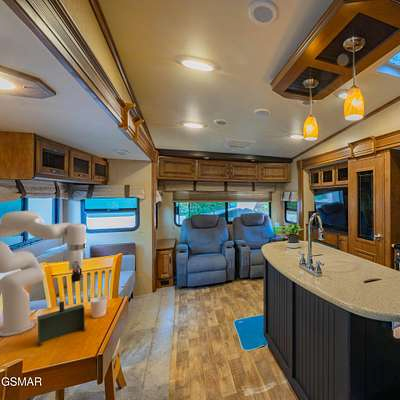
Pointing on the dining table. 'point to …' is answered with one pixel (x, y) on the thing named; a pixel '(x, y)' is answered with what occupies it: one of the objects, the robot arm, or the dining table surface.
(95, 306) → the white cup
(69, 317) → the dustpan
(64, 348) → the dining table surface
